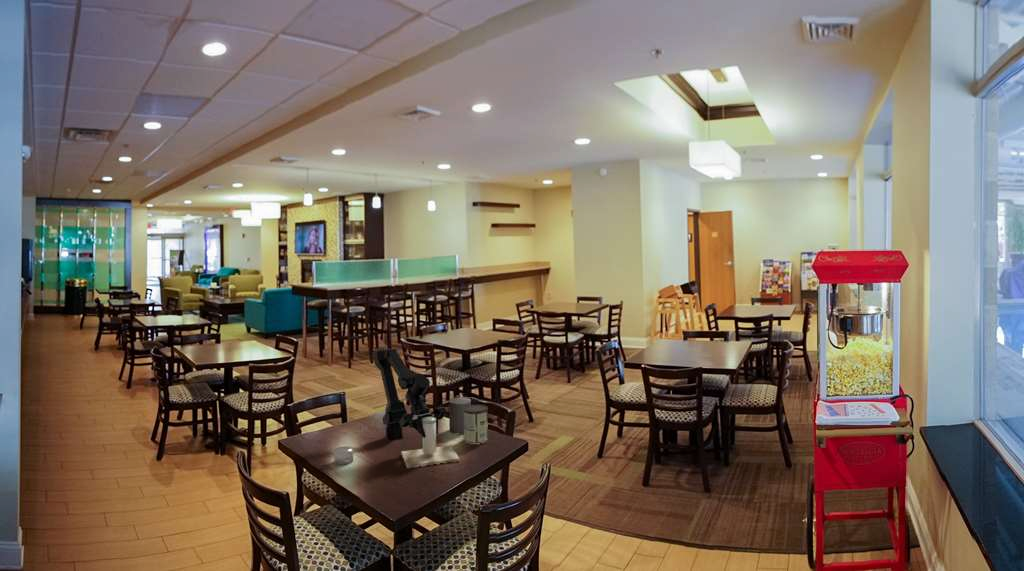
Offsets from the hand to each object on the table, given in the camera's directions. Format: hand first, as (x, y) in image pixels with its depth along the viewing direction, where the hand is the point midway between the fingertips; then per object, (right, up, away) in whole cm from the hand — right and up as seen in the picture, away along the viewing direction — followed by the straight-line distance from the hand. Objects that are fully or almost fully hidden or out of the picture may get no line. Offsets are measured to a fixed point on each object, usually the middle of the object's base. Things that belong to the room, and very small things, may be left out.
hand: (431, 435), depth 222 cm
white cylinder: (-1, -7, +2) cm, 7 cm away
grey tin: (-33, -10, -2) cm, 35 cm away
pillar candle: (+8, -7, +34) cm, 36 cm away
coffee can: (+16, -8, +21) cm, 28 cm away
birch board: (-1, -9, +2) cm, 9 cm away
